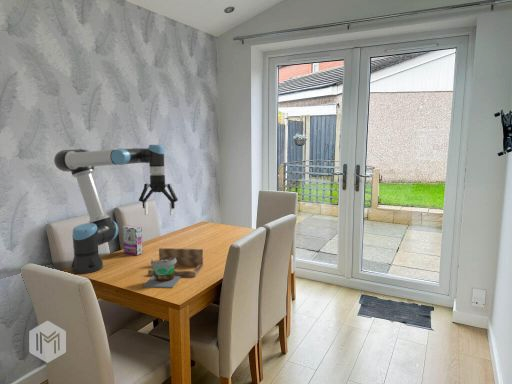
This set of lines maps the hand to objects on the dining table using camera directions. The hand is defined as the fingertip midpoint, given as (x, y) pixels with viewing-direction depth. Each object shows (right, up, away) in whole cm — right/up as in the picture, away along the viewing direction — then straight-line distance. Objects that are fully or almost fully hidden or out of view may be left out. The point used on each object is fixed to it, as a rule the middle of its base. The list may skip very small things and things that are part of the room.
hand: (158, 214), depth 188 cm
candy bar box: (-23, -25, +28) cm, 44 cm away
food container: (+7, -31, -16) cm, 36 cm away
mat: (+6, -31, -16) cm, 36 cm away
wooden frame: (+10, -29, -1) cm, 31 cm away
